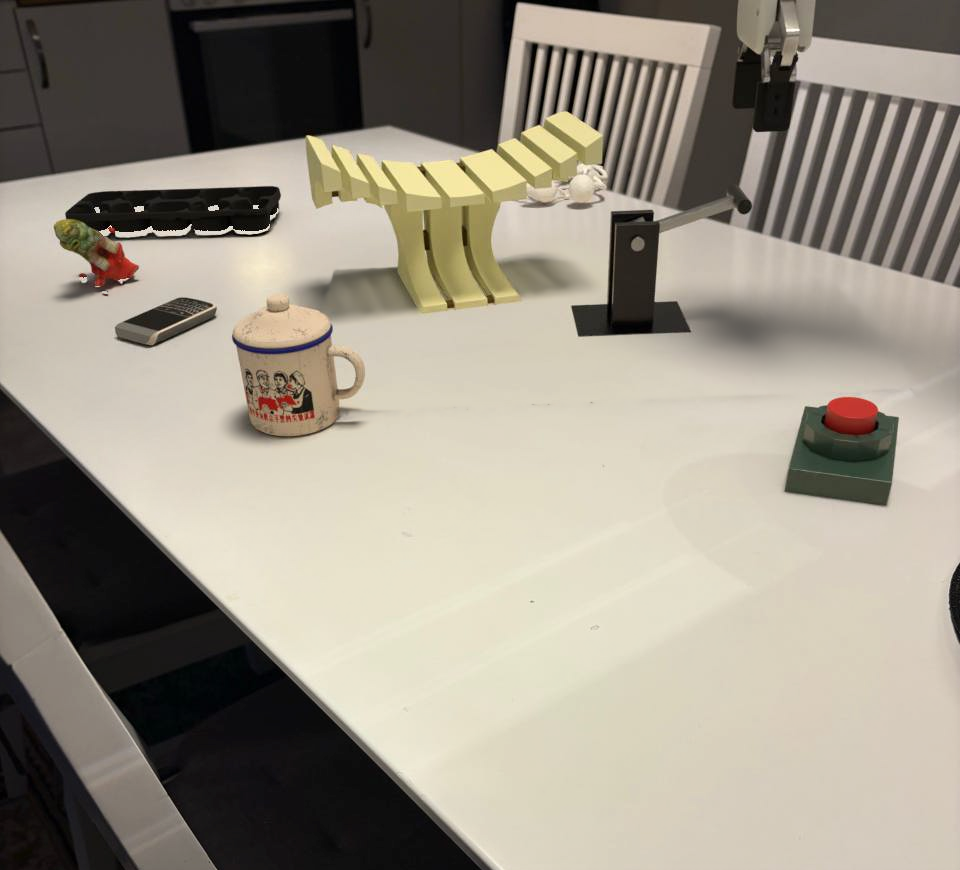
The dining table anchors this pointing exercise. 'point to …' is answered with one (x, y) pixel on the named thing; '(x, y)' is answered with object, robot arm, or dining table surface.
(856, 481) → the button block
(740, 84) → the robot arm
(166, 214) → the egg carton
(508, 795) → the dining table surface
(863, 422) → the button
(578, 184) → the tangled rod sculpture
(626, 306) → the lever bracket
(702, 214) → the lever handle
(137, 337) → the cell phone
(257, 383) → the teacup with lid
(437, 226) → the slatted curved stool
